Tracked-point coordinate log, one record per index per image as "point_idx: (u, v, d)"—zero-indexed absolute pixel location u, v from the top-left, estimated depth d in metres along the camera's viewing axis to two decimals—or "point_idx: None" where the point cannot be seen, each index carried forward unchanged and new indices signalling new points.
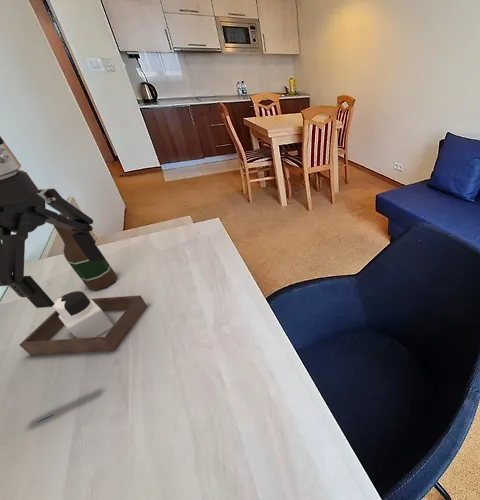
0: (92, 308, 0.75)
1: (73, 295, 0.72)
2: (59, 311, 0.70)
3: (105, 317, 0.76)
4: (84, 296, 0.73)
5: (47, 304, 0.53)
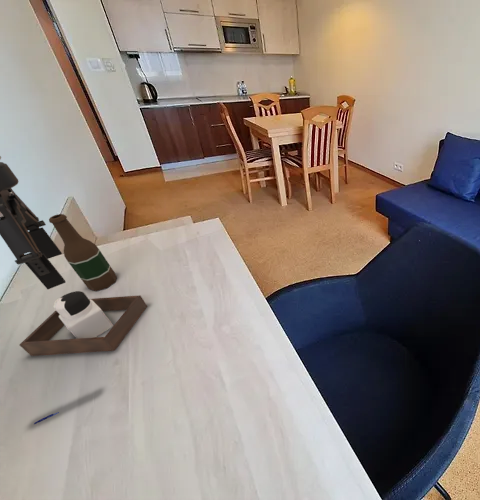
0: (92, 308, 0.75)
1: (73, 295, 0.72)
2: (59, 311, 0.70)
3: (105, 317, 0.76)
4: (84, 296, 0.73)
5: (61, 280, 0.57)
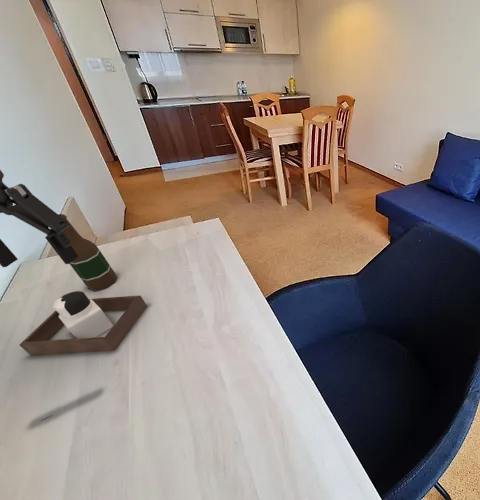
0: (92, 308, 0.75)
1: (73, 295, 0.72)
2: (59, 311, 0.70)
3: (105, 317, 0.76)
4: (84, 296, 0.73)
5: (75, 254, 0.63)
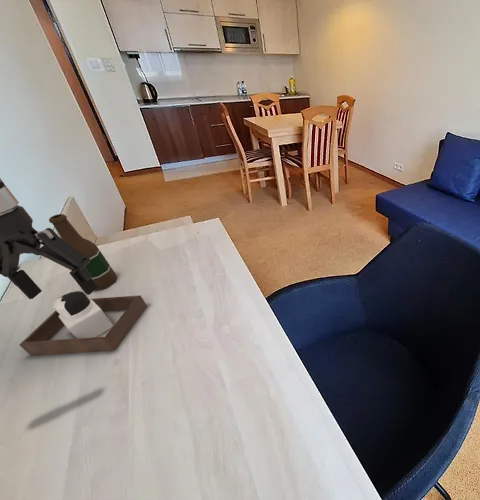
0: (92, 308, 0.75)
1: (73, 295, 0.72)
2: (59, 311, 0.70)
3: (105, 317, 0.76)
4: (84, 296, 0.73)
5: (95, 285, 0.71)
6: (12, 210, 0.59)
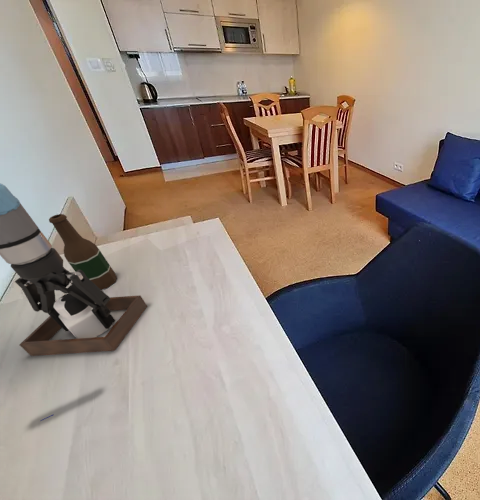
0: (92, 308, 0.75)
1: None
2: (59, 311, 0.70)
3: None
4: None
5: (113, 319, 0.78)
6: (46, 253, 0.65)
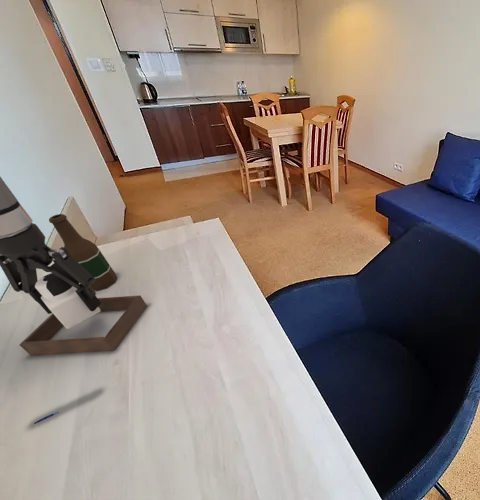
0: (76, 289, 0.71)
1: None
2: (41, 291, 0.67)
3: None
4: None
5: (99, 302, 0.74)
6: (26, 228, 0.61)
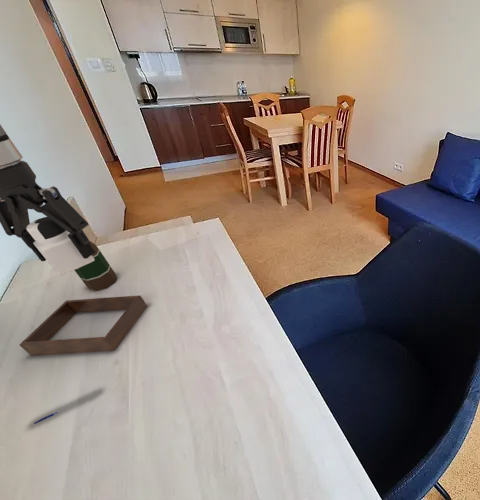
0: None
1: (48, 219, 0.67)
2: (32, 233, 0.65)
3: None
4: None
5: (92, 250, 0.72)
6: (16, 163, 0.59)
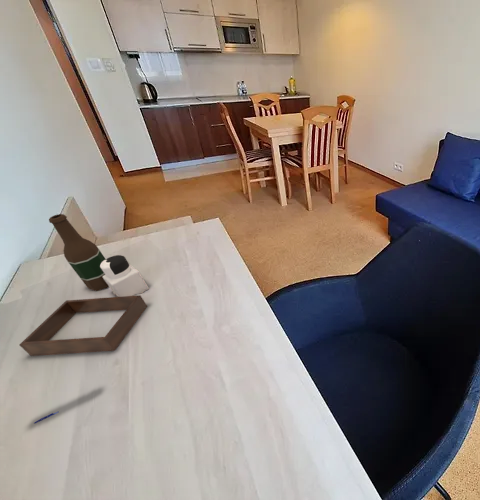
0: (131, 270, 0.87)
1: (116, 258, 0.84)
2: (105, 270, 0.82)
3: (141, 278, 0.89)
4: (125, 259, 0.85)
5: None
6: None
